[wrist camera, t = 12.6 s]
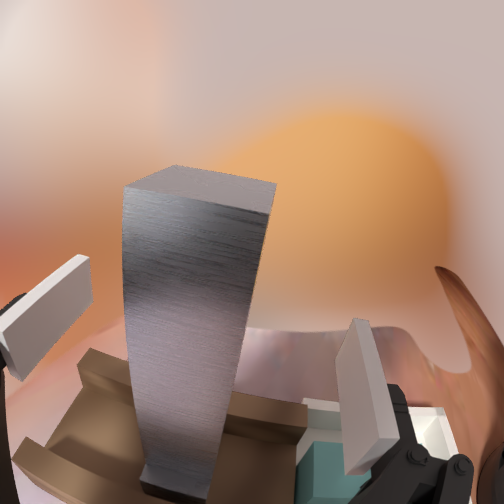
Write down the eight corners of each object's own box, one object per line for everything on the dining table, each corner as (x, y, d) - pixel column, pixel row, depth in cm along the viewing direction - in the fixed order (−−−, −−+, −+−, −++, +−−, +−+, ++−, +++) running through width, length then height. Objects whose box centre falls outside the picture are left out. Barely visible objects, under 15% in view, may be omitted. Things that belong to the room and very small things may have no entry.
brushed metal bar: (221, 439, 18) (278, 177, 11) (203, 512, 13) (264, 231, 6) (170, 426, 18) (185, 160, 11) (144, 496, 13) (98, 198, 6)
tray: (425, 427, 22) (443, 407, 20) (452, 556, 9) (480, 544, 8) (292, 419, 22) (303, 397, 21) (279, 582, 9) (294, 579, 8)
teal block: (348, 470, 17) (372, 444, 16) (350, 516, 14) (379, 496, 12) (295, 467, 17) (313, 440, 16) (292, 515, 14) (313, 496, 12)
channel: (292, 433, 21) (307, 404, 19) (281, 563, 11) (302, 555, 9) (97, 382, 21) (90, 347, 20) (35, 484, 11) (11, 459, 10)
